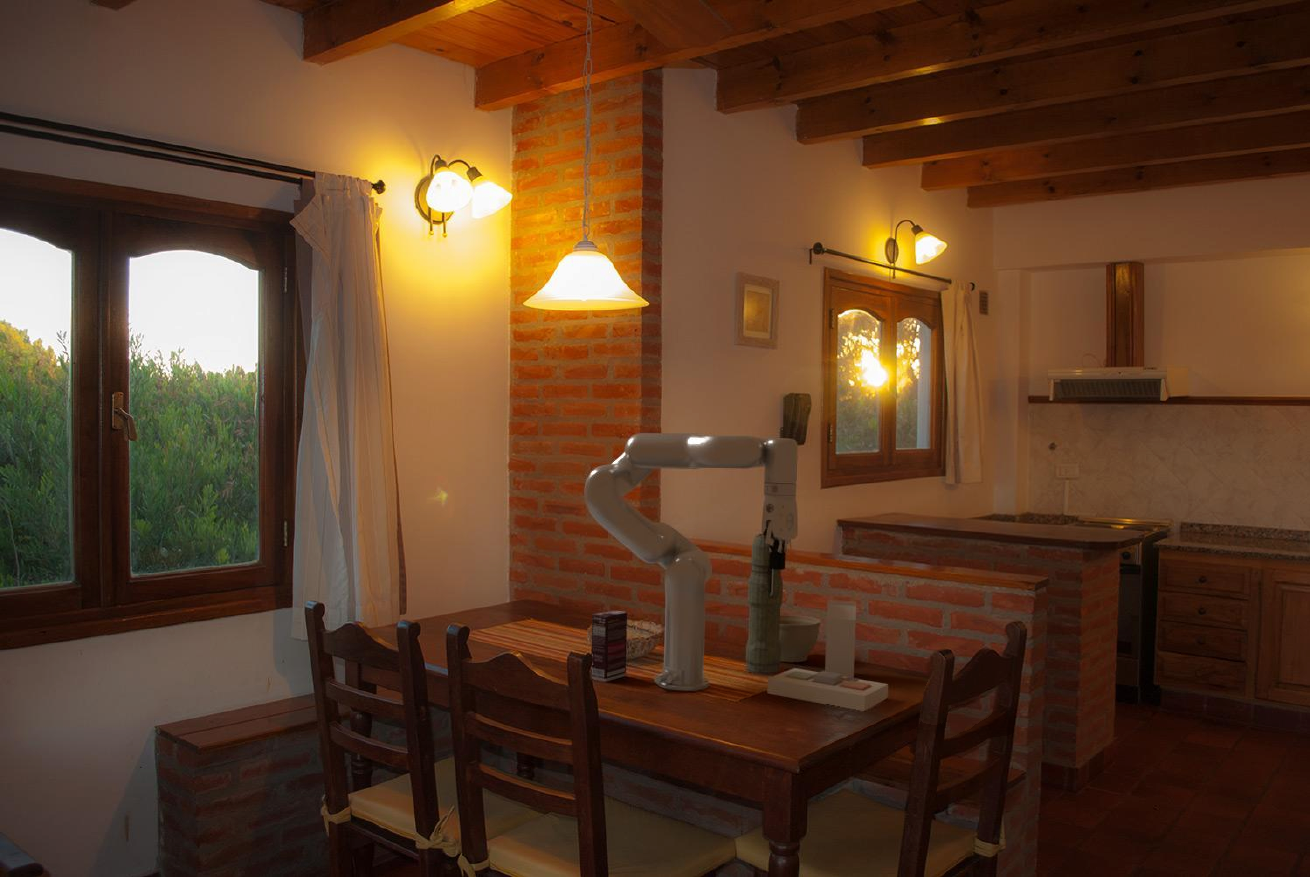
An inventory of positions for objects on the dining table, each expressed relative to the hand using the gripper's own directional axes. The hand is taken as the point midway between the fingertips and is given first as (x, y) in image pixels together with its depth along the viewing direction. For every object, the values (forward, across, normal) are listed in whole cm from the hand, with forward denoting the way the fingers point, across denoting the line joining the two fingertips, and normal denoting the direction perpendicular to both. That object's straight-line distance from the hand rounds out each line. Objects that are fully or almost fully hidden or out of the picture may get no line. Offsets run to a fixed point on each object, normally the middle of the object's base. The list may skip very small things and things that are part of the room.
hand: (777, 568), depth 235 cm
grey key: (+27, +6, -11) cm, 29 cm away
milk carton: (+29, +28, -4) cm, 41 cm away
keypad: (+29, +6, -11) cm, 32 cm away
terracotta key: (+28, +6, -18) cm, 34 cm away
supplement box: (+29, -14, +38) cm, 50 cm away
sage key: (+28, +6, -4) cm, 29 cm away
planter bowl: (+29, +36, +14) cm, 48 cm away
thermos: (+29, +18, +13) cm, 37 cm away
